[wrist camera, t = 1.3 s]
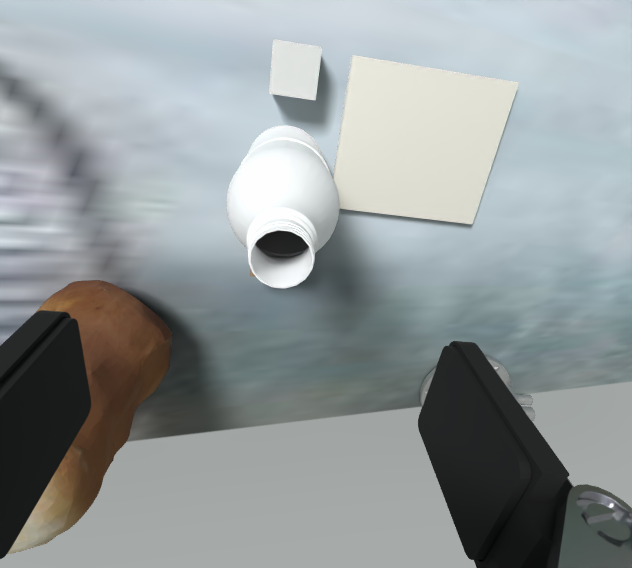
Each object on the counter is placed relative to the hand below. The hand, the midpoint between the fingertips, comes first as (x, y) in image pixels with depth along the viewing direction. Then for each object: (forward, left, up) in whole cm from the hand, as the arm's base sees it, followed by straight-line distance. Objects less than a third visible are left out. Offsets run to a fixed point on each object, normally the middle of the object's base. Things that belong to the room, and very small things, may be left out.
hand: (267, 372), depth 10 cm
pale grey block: (0, -8, -33) cm, 34 cm away
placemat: (-13, -3, -33) cm, 36 cm away
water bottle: (0, 0, -33) cm, 33 cm away
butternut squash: (+17, +20, -33) cm, 42 cm away
